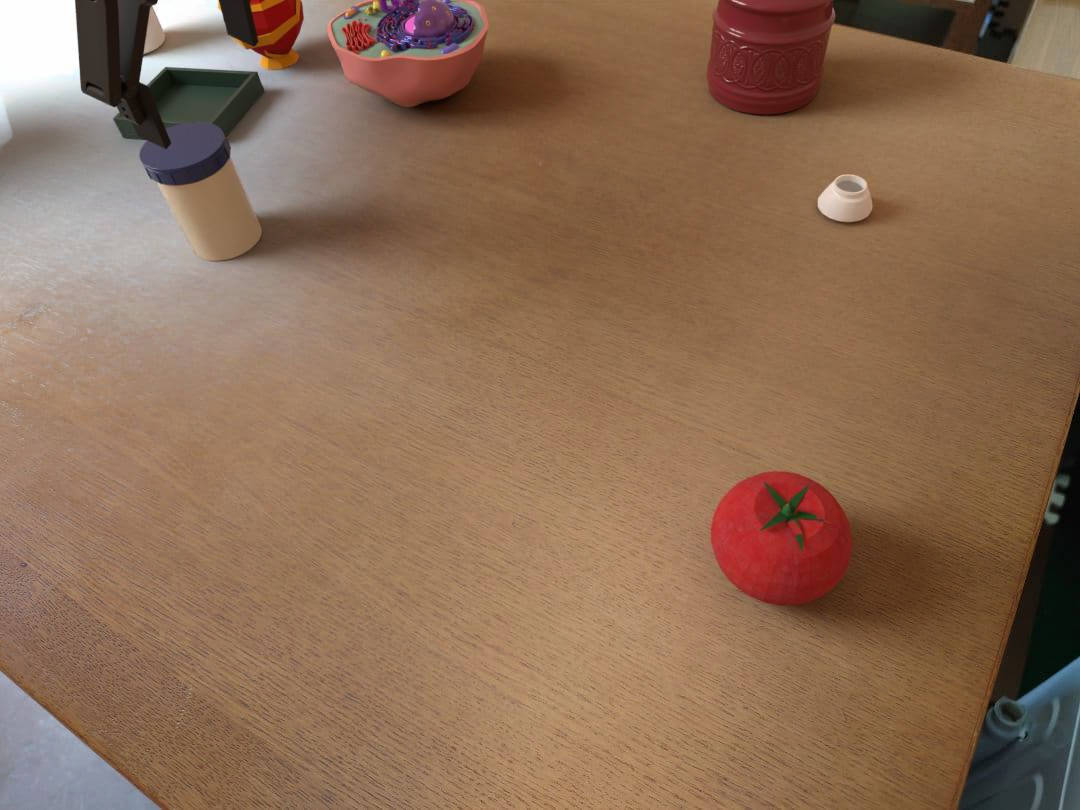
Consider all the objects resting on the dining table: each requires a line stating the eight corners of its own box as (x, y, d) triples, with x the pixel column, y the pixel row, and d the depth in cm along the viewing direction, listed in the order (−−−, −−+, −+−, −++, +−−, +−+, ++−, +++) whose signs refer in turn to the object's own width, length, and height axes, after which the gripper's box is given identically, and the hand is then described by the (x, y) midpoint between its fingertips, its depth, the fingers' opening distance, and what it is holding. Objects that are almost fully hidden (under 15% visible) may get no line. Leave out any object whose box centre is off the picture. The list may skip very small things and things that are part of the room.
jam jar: (179, 257, 79) (129, 169, 71) (213, 213, 83) (170, 125, 75) (242, 264, 78) (199, 175, 69) (273, 219, 82) (236, 130, 74)
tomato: (825, 644, 49) (856, 588, 43) (690, 598, 52) (700, 539, 46) (848, 530, 54) (878, 465, 48) (723, 493, 57) (737, 427, 51)
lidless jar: (817, 223, 75) (871, 227, 74) (823, 198, 73) (880, 201, 72) (816, 192, 78) (868, 195, 77) (822, 166, 76) (876, 169, 75)
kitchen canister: (723, 53, 97) (741, -109, 83) (829, 68, 93) (867, -99, 79) (690, 106, 90) (705, -61, 76) (804, 125, 85) (841, -47, 72)
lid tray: (123, 137, 94) (112, 118, 92) (174, 85, 102) (165, 66, 100) (219, 145, 92) (210, 125, 90) (264, 91, 99) (257, 71, 97)
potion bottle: (324, 67, 102) (287, -57, 90) (245, 87, 100) (197, -38, 88) (311, 34, 108) (275, -87, 97) (237, 51, 106) (191, -69, 95)
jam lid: (131, 182, 72) (122, 166, 70) (174, 135, 76) (166, 119, 75) (206, 188, 70) (198, 172, 69) (245, 140, 75) (238, 124, 73)
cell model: (390, 47, 104) (369, -44, 95) (522, 71, 97) (513, -24, 89) (314, 111, 95) (283, 18, 86) (454, 143, 88) (436, 45, 80)
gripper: (40, -21, 44) (154, 206, 63) (276, -237, 54) (311, 16, 74) (-76, -76, 44) (72, 167, 64) (180, -280, 54) (240, -16, 74)
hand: (200, 87), depth 69 cm, fingers open, 13 cm apart
